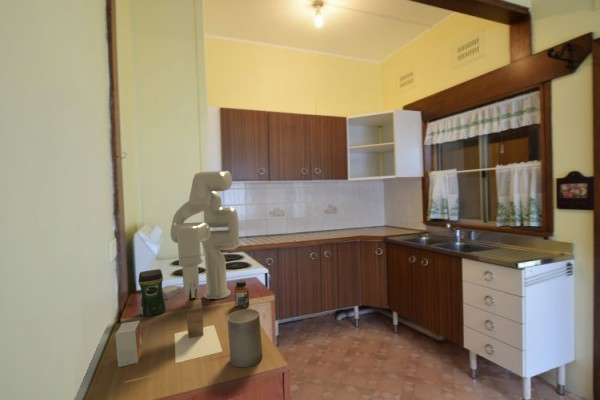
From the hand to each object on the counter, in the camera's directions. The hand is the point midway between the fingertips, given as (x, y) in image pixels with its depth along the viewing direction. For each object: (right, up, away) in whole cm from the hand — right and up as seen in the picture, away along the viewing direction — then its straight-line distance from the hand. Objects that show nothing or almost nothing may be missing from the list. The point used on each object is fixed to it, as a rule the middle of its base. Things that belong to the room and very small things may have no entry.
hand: (193, 309), depth 114 cm
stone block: (-28, -8, +43) cm, 52 cm away
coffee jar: (-24, -9, +22) cm, 34 cm away
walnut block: (+1, -8, -1) cm, 8 cm away
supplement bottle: (+13, -7, +24) cm, 28 cm away
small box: (-15, -11, -15) cm, 23 cm away
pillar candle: (+22, -9, -18) cm, 30 cm away
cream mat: (+3, -9, -6) cm, 12 cm away
